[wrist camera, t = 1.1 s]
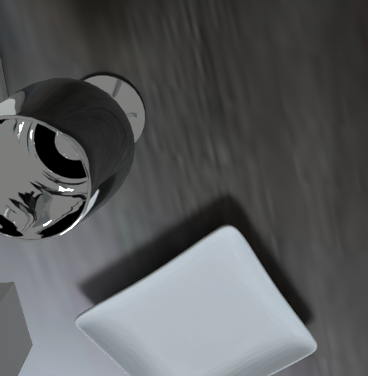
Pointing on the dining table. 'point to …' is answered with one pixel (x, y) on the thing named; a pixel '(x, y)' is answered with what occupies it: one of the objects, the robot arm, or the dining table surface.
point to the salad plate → (201, 316)
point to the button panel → (2, 85)
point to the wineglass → (64, 152)
